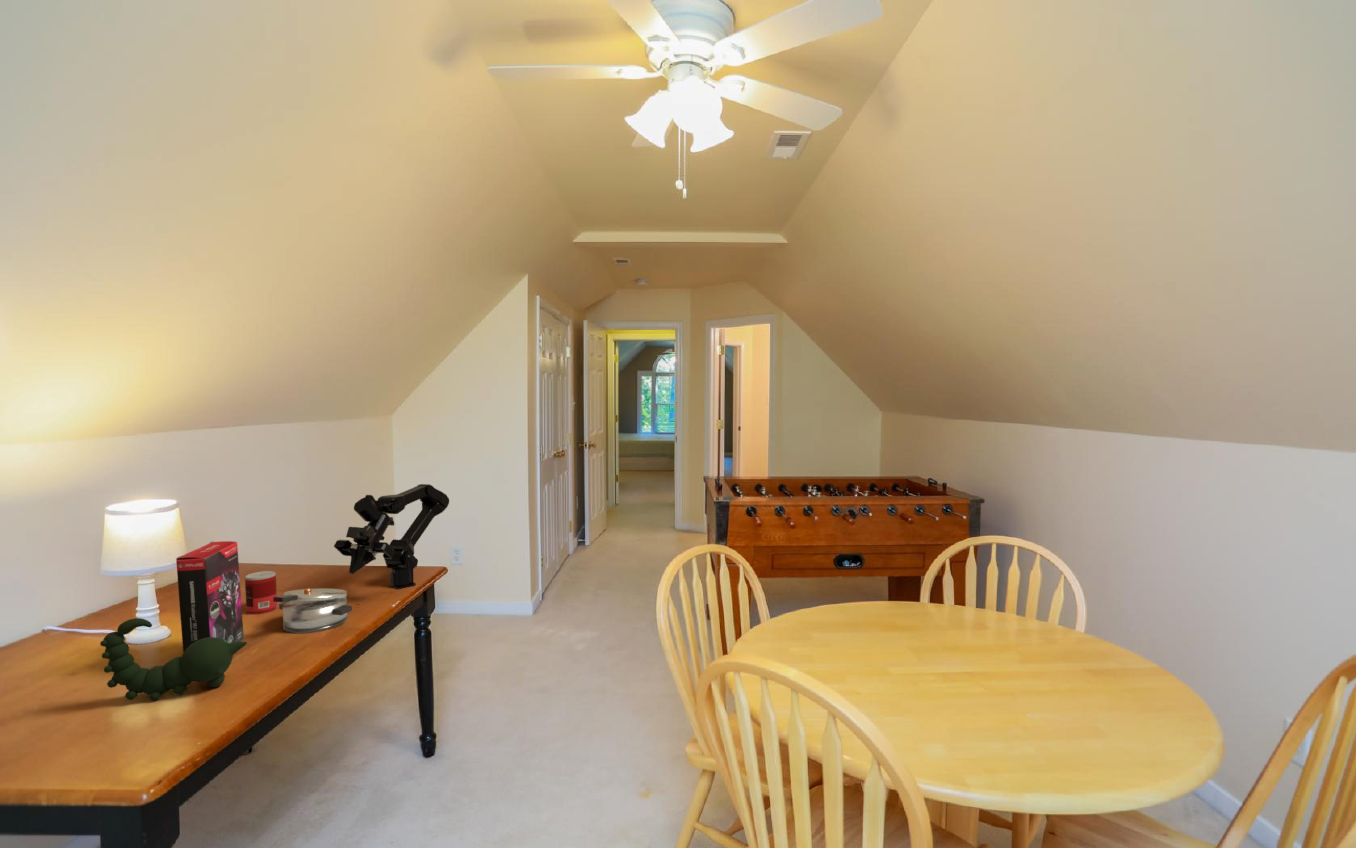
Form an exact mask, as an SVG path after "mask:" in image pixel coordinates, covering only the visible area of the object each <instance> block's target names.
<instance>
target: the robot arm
mask: <svg viewBox="0 0 1356 848" xmlns="http://www.w3.org/2000/svg"><path fill="white" fill-rule="evenodd" d="M418 500H419V501H420V502H421V511H420V512H419V513H418V514H417V516H416V518H415V519H414V520H413V522H412V523H411V525H409V527H408V529H407V530H406V532H404V534H403V535H402V537H401V538H400V539H392V540H391V541H390V543H388V542H384V540H385V536H384V534H385V533H386V530H387V528H388V527H389V526H395V521H394V517H393V516H390V515H398V514H399V513H401V512H403V510H405V509H406V506H408V505H409V504H412V503H414V502H417V501H418ZM449 504H450V499H449V497H448V495H447V494H446V493H444V492H443V491H441V490H440V489H437V488H435V487H434V486H433V485H431V484H429V483H428V484H427V483H421V484H417V485H416V486H414V487H412V488H409V489H407V490H404V491H402V492H400V493H398V494H389V495H388V494H387V495H381V496H379V497H378V498H377V500H376V499H375V497H374V496H373V494H366V495H365V496H364V497H363V498H360V499H359V500H358V501H357V502H355V503H354V505H353V510H354V512H356V514H357V515H358V516H359V517H360V518H361V519H362V520H363V521H364V522H366V523H367V522H368V523H367V525H364V527H359V526H348V528H347V532H346V535H345V537H346V538H351V539H352V541H353V542H354V543H352V541H350V540H349V539H337V540H336V541H335V543H334V545H333V547H334V548H335V550H337V551H338V552H339V553H340V554H341V555H342V556H345V557H350V564H349V571H348V573H349V574H351V575H353V574H355V573H356V572H358V571H360V570H361V569H362V568H363V567H365V566H366V565H368V564H370V563H371V562H372V561H375V560H376V559H377V557H376V556H377V554H382V557H383V559H384V562H385V565H386V569H390V573H389V586H391V587H392V586H393V588H394V587H395V588H394V589H396V588H397V590H398V589H404V588H407V587H412V586H416V585H417V583H416V582H414V579H415V578H414V569H416V567H418V563H419V559H418V558H417V557H416V556H415V555H414V554H415V546H416V544H417V542H418V541H419V540H420V538H421V537H422V535H423V534H424V532H425V531H426V530H427V528H428V527H429V525H430V524H431V522H432V521H433V520H434V518H435V517H436V516H439V515H441V514H442V513H443V512H444V511H445V510H446V509H447V508H448V506H449ZM388 514H389V515H388ZM382 541H383V542H382Z"/></svg>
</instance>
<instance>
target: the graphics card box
mask: <svg viewBox="0 0 1356 848" xmlns="http://www.w3.org/2000/svg"><path fill="white" fill-rule="evenodd" d="M238 552H239V551H238V542H237V541H233V540H231V541H230V540H226V541H223V540H222V541H210V542H209V543H207V544H206V545H202V546H200V547H198V548H195V549H193V550H192V551H190V552H188V553H185V554H182V555H180V556H177V557H176V561H175V562H176V572H177V573H176V574H177V576H176V577H177V588H178V599H179V600H178V602H179V614H180V615H179V616H180V627H181V629H180V630H181V640H182V641H181V643H182V651H183V652H182V654H183V653H184V651H185V650H186V649H187V648H188V647H189V646H190V645H191V644H193V643H194V642H196V641H198V640H200V639H203V638H208V637H216V638H220V639H222V640H224V641H226V642H227V643H235V642H243V641H244V640H245V637H244V636H245V635H244V621H243V606H242V593H241V577H240V565H239V553H238Z"/></svg>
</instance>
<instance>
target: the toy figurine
mask: <svg viewBox="0 0 1356 848" xmlns="http://www.w3.org/2000/svg"><path fill="white" fill-rule="evenodd" d="M139 627H140V628H141V627H146V628H152V627H153V624H152V622H150V621H149V620H148V619H145V618H141V617H139V618H138V617H136V618H131V619H130V618H129V619H127V620H126V621H123V622H122V623H120V624H119V625H118V627H117V631H112V632H109V633H108V634H106V635H105V636H104V638H103V639H102V640H101V641H100V643H99V645H100V646H101V647H104V648H105V649H104V652H103V653H102V654H101V658H102V659H107V660H108V662H107V665H106V666H105V667H104V668H103V672H104V673H111V672H112V673H113V674H112V677H111V679H109V680H108V681H107V682H106V686H107V687H109V689H113V688H115V687H117V685H120V686H125V688H126V690H127V692H125V695H124V699H126V700H128V701H133V700H134V699H136V698H137V697H138V695H139V694H142V693H143V694H145V695H148V698H149V700H150V701H153V702H156V701H158V700H160V698H161V697H162V695H164V694H166V693H168V692H169V691H170V690H172V694H174V695H175V696H182V695H183V694H185V692H186V691H188V686H190V685H191V684H192V683H194V682H195V683H206V684H207V685H208V686H209V687H210V688H217V687H219V686H221V685H222V684H224V681H225V677H226V675H225V673H226V671H227V670H228V669H229V668H230V666H231V665H232V663H233V662H232V661H233V659H234V658H233V657H234V655H235V654H236V653H238V652H239V651H240V650H242V648H244V647H246V645H247V644H248V642H247V641H241V642H235V643H227V642H226V641H224V640H222V639H220V638H216V637H208V638H203V639H200V640H198V641H196V642H194V643H193V644H191V645H190V646H189V647H188V648H187V649H186V650H185V651H184V653H183V652H182V655H181V656H176V657H174V658H171V659H169V660H168V661H167V662H166V663H165V664H164V665H156V666H153V667H151V668H146V667H143V668H142V667H141V665H139V663H136V662H135V657H134V656H133V654H132V653H130V652H129V651H130V646H129V644H128V643H127V642H125V639H126V638H125V636H126V635H128V634H130V633H131V632H132V631H134V629H137V628H139Z"/></svg>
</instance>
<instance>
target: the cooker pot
mask: <svg viewBox="0 0 1356 848" xmlns="http://www.w3.org/2000/svg"><path fill="white" fill-rule="evenodd" d="M278 608H279V610H282V629H283V631H284V632H286V633H289V634H311V633H318V632H319V633H320V632H322V631H327V629H328V630H331V629H334V628H336V626H337V627H339V626H341V625H343V624H345V623H346V622H347V621H348V617H349V616H348V613H350V612H352V611H353V606H352V605H348V602H347V596H346V597H344V598H341V599H335V600H325V601H287V602H280V603H279V604H278ZM346 620H347V621H346ZM345 621H346V622H345ZM344 622H345V623H344ZM340 624H341V625H340ZM338 625H339V626H338ZM330 628H331V629H330Z"/></svg>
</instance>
